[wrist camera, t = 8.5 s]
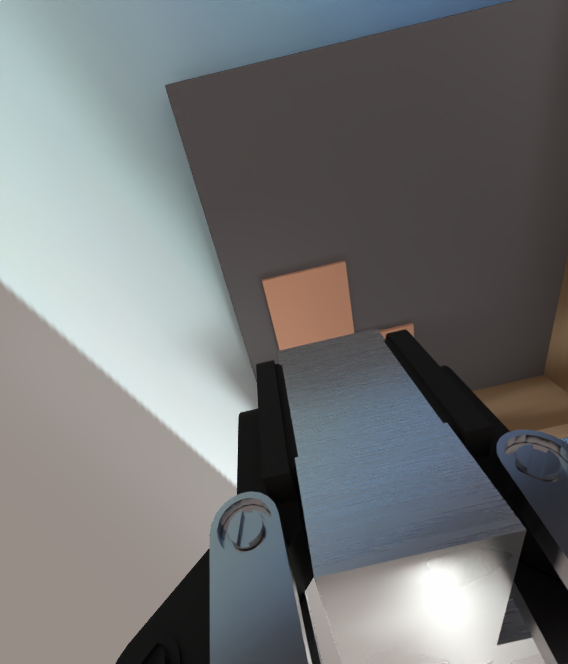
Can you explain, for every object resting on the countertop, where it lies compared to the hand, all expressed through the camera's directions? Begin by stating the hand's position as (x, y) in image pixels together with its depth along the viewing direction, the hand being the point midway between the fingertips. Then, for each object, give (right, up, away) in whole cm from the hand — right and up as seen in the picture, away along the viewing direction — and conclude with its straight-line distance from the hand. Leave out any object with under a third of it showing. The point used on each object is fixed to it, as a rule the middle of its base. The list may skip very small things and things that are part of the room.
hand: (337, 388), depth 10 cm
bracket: (+2, -1, +1) cm, 3 cm away
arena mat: (+4, +5, +6) cm, 9 cm away
